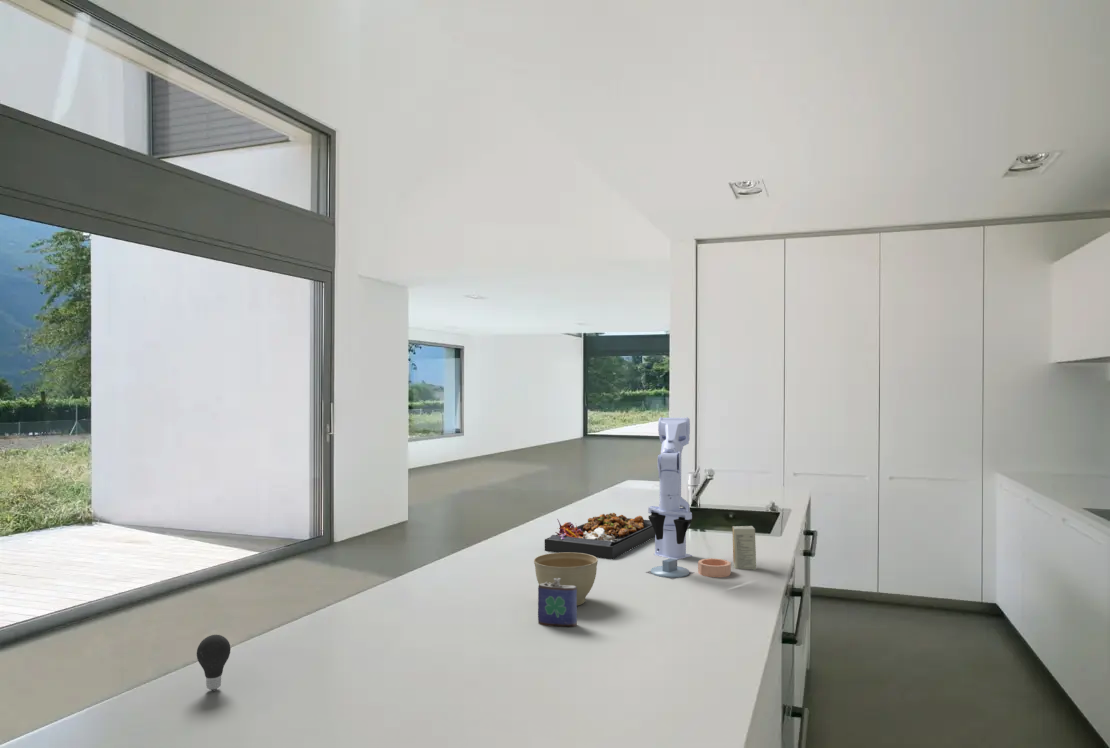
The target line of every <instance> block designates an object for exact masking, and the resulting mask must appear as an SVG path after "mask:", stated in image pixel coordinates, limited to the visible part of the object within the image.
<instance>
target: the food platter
mask: <svg viewBox="0 0 1110 748" xmlns="http://www.w3.org/2000/svg"><path fill="white" fill-rule="evenodd" d="M556 520H557V522H558V525H559V527H557V528H556V529H557V530H558V529H559V530H558V532H557V531H555V534H552V535H550V537H547V538H544V552H552V553H564V552H570V553H584V554H589V555H592V556H595V557H596V558H597V559H599V558H601V559H607V560H614V559H616V558H618V557H620V556H621V554H622V555H624V554H625V552H626V553H628V552H630V551H631V550H630V549H632V548H633V549H635V548H637V547H639V546H641V545H643V544H644V542H645V543H646V541H647V542H648V540H649V539H651V538H653V537H654V538H655V531H654V528H653V525H652V523H651V521H650V520H649V519H644V517H643V516H642V515H638V516H635V517H634V518H630V517H629V518H627V516H625V515H624V514H620V515H617V513H615V512H609V513H607V514H605V513H602V514H600V515H599V516H592V517H589V518H587V522H586V523H582V524H580V525H577V523H575V525H574V524H573V523H572V522H571V521H569V522H568V521H567V522H564V524H563V525H562V524H561V523H560V520H559V518H556ZM654 538H653V539H654ZM651 540H652V539H651ZM649 541H650V540H649ZM642 543H643V544H642ZM640 544H641V545H640ZM638 545H639V546H638ZM636 546H637V547H636ZM634 547H635V548H634ZM633 549H632V550H633ZM629 550H630V551H629ZM627 551H628V552H627ZM623 553H624V554H623Z"/></svg>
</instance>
